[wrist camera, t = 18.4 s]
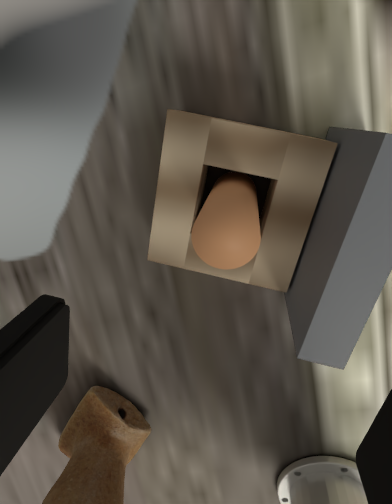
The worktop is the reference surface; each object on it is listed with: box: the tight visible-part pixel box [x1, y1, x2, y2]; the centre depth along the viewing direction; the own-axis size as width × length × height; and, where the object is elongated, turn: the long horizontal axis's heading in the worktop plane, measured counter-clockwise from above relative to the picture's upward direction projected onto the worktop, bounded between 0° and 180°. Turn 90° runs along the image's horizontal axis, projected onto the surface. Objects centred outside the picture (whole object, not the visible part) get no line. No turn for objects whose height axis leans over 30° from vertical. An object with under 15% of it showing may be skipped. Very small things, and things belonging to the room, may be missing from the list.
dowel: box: [191, 172, 261, 270], centre depth 24 cm, size 4×4×12 cm
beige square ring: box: [147, 109, 338, 293], centre depth 27 cm, size 12×12×5 cm
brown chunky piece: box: [42, 386, 151, 504], centre depth 38 cm, size 15×12×15 cm
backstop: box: [284, 127, 392, 370], centre depth 24 cm, size 14×3×12 cm, turn 170°
